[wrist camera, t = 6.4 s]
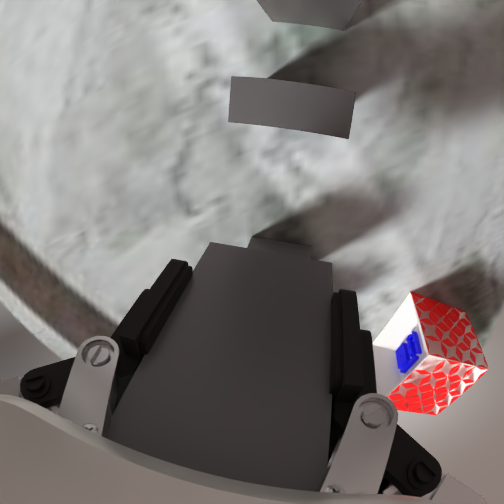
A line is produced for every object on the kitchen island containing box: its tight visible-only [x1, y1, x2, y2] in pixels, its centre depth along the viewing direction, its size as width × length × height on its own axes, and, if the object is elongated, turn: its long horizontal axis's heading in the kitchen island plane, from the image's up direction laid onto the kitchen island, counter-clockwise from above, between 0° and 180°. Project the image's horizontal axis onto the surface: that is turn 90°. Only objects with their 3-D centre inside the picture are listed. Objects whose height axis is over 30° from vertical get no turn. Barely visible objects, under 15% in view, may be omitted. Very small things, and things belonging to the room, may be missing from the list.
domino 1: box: [108, 242, 333, 492], centre depth 9 cm, size 2×5×10 cm, turn 85°
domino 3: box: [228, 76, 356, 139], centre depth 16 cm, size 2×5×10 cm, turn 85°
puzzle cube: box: [372, 292, 488, 415], centre depth 25 cm, size 8×8×8 cm
